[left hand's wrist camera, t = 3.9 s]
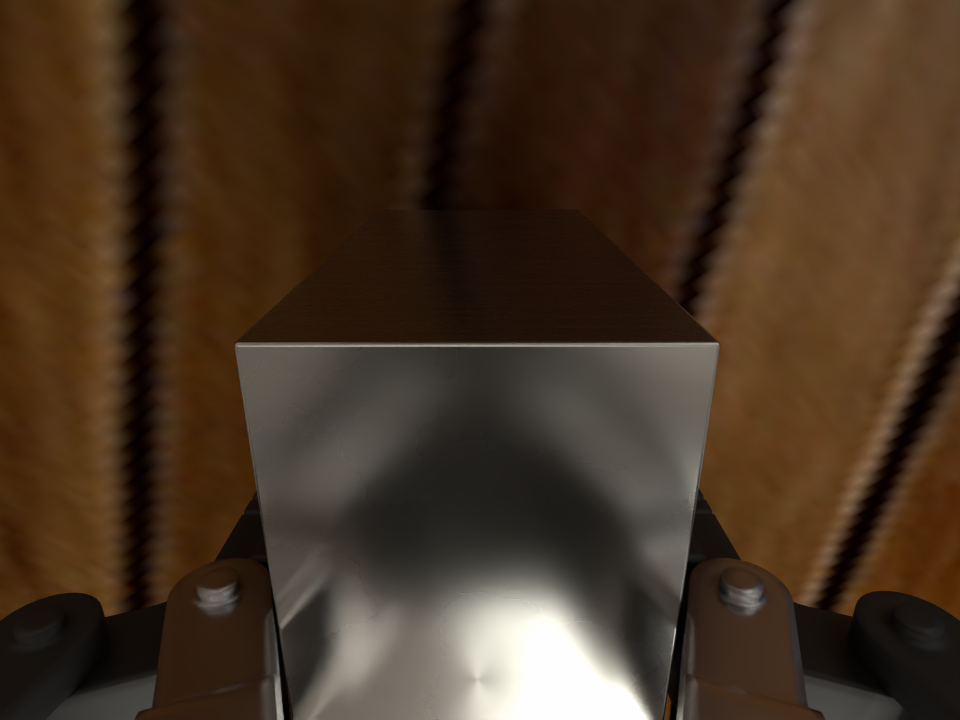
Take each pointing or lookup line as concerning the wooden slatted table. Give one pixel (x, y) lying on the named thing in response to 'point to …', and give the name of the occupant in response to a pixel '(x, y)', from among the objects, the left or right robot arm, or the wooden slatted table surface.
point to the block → (477, 470)
